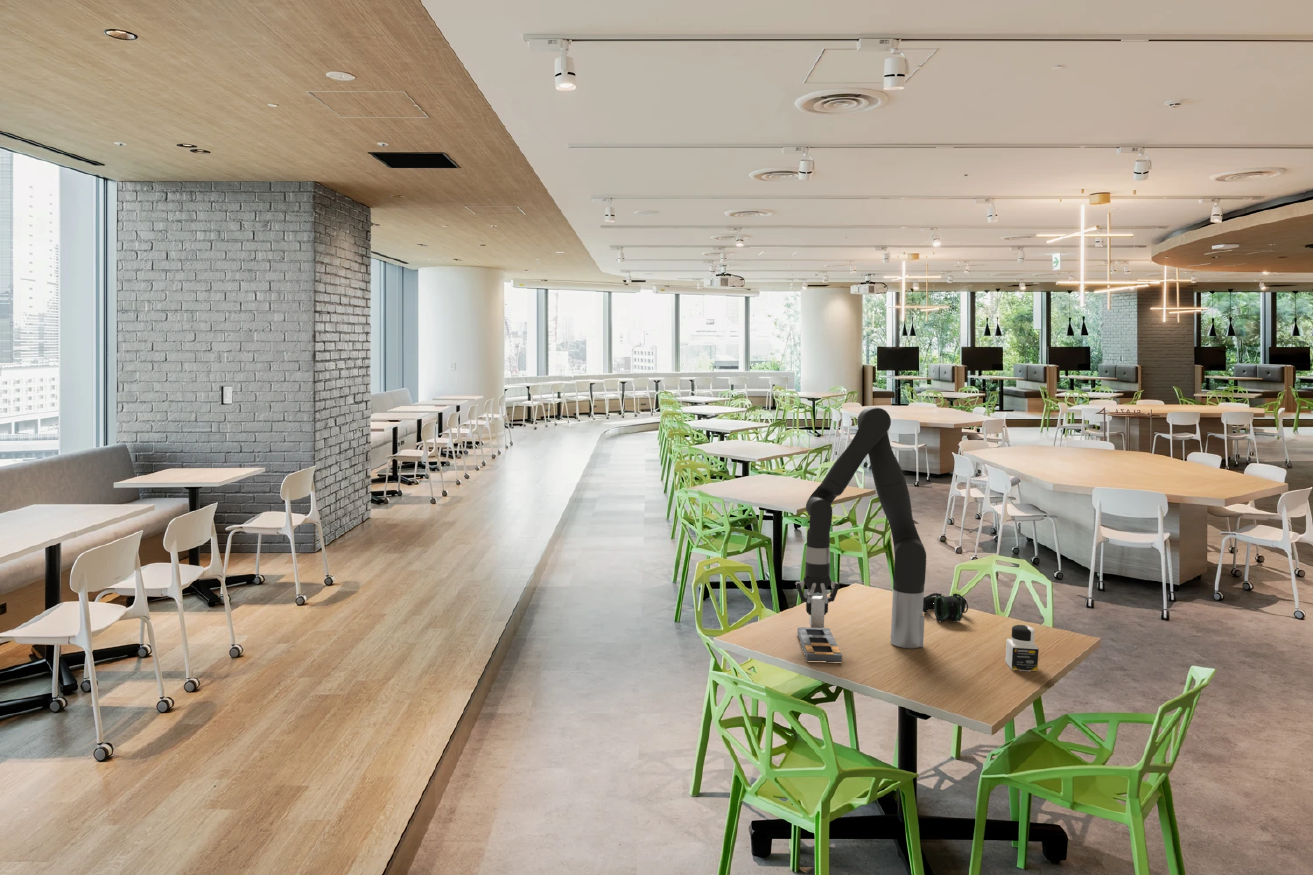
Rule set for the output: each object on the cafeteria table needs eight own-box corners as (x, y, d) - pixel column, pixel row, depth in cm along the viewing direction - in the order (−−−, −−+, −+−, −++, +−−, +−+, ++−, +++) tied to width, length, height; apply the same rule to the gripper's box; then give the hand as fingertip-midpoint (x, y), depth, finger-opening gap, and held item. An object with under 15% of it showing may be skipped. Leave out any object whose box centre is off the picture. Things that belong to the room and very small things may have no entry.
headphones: (984, 609, 285) (959, 601, 305) (955, 580, 285) (933, 574, 305) (956, 637, 284) (934, 628, 304) (928, 609, 284) (907, 601, 304)
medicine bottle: (1011, 670, 244) (1013, 629, 243) (1004, 661, 251) (1007, 622, 250) (1037, 672, 243) (1040, 631, 242) (1030, 663, 250) (1032, 623, 249)
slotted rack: (828, 635, 272) (829, 627, 272) (841, 663, 247) (841, 654, 247) (797, 634, 273) (797, 626, 273) (806, 662, 248) (807, 653, 248)
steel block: (822, 623, 269) (822, 596, 269) (824, 627, 265) (824, 599, 265) (809, 623, 270) (809, 595, 269) (811, 627, 266) (811, 599, 265)
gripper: (838, 557, 269) (837, 611, 271) (793, 557, 270) (792, 610, 271) (842, 563, 261) (841, 618, 263) (796, 562, 262) (795, 617, 264)
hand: (816, 613), depth 267 cm, fingers closed on steel block, 4 cm apart
